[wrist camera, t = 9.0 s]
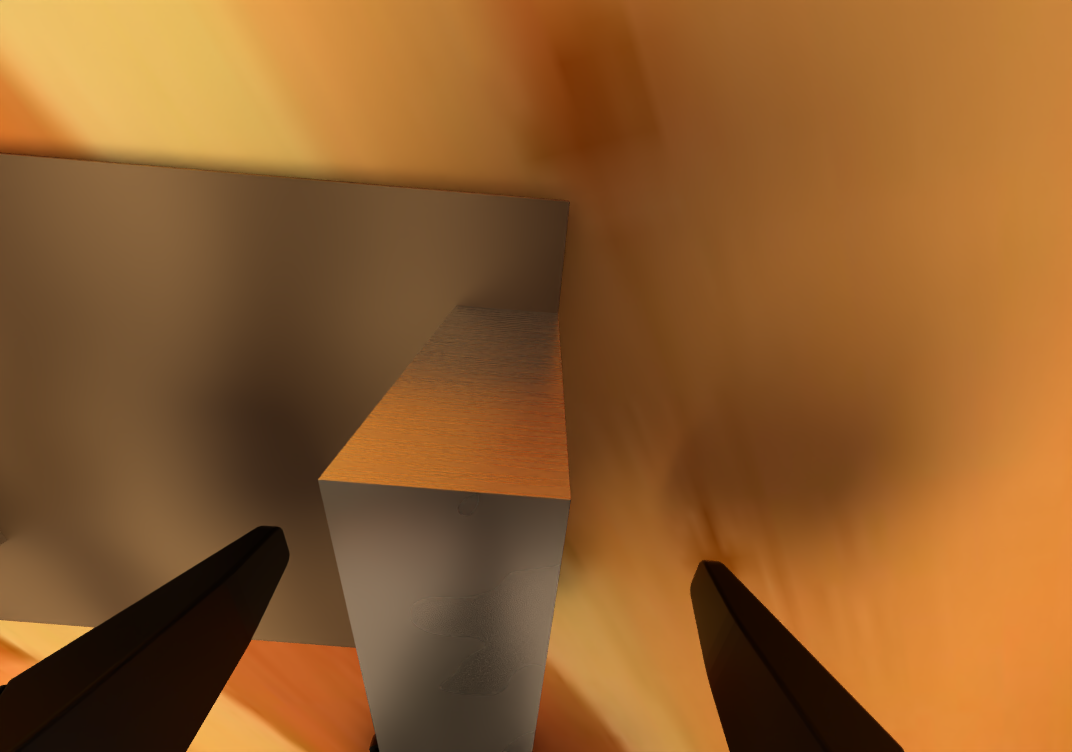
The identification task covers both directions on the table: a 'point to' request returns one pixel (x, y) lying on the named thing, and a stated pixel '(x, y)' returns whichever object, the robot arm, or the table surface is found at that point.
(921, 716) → the table surface
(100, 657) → the robot arm
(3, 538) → the cube
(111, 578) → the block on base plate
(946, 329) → the table surface
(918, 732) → the table surface
